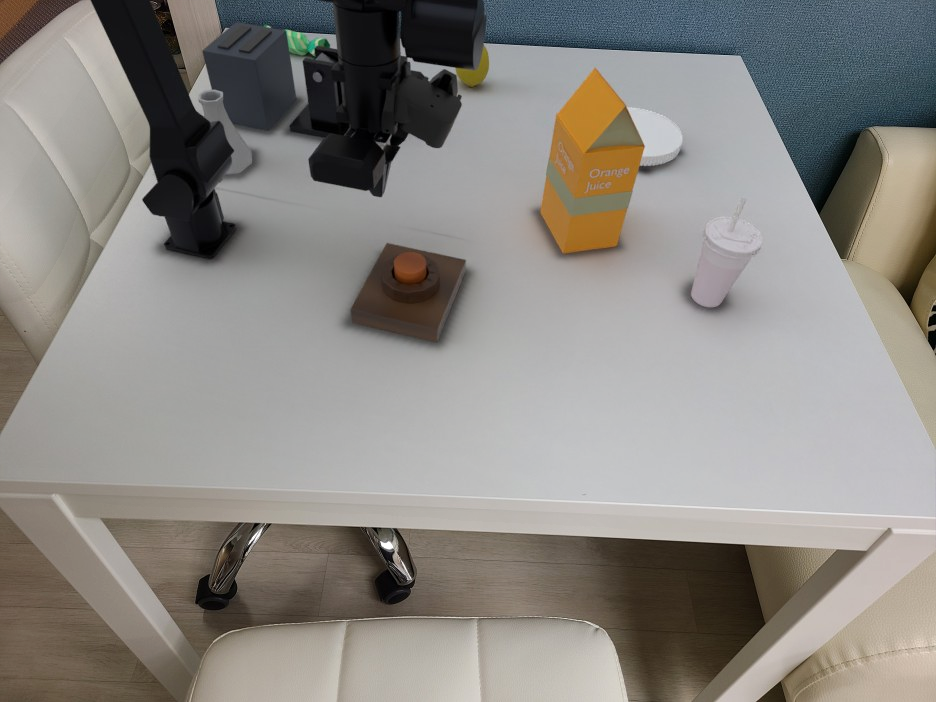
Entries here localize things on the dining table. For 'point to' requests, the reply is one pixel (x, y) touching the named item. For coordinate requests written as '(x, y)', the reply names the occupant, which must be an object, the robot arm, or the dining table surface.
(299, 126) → the lever bracket
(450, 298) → the control block
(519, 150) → the dining table surface
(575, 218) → the orange juice
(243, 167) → the flask
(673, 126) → the plastic lid
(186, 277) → the dining table surface
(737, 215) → the smoothie
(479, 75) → the lemon
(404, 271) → the button
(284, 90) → the toaster
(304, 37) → the candy
